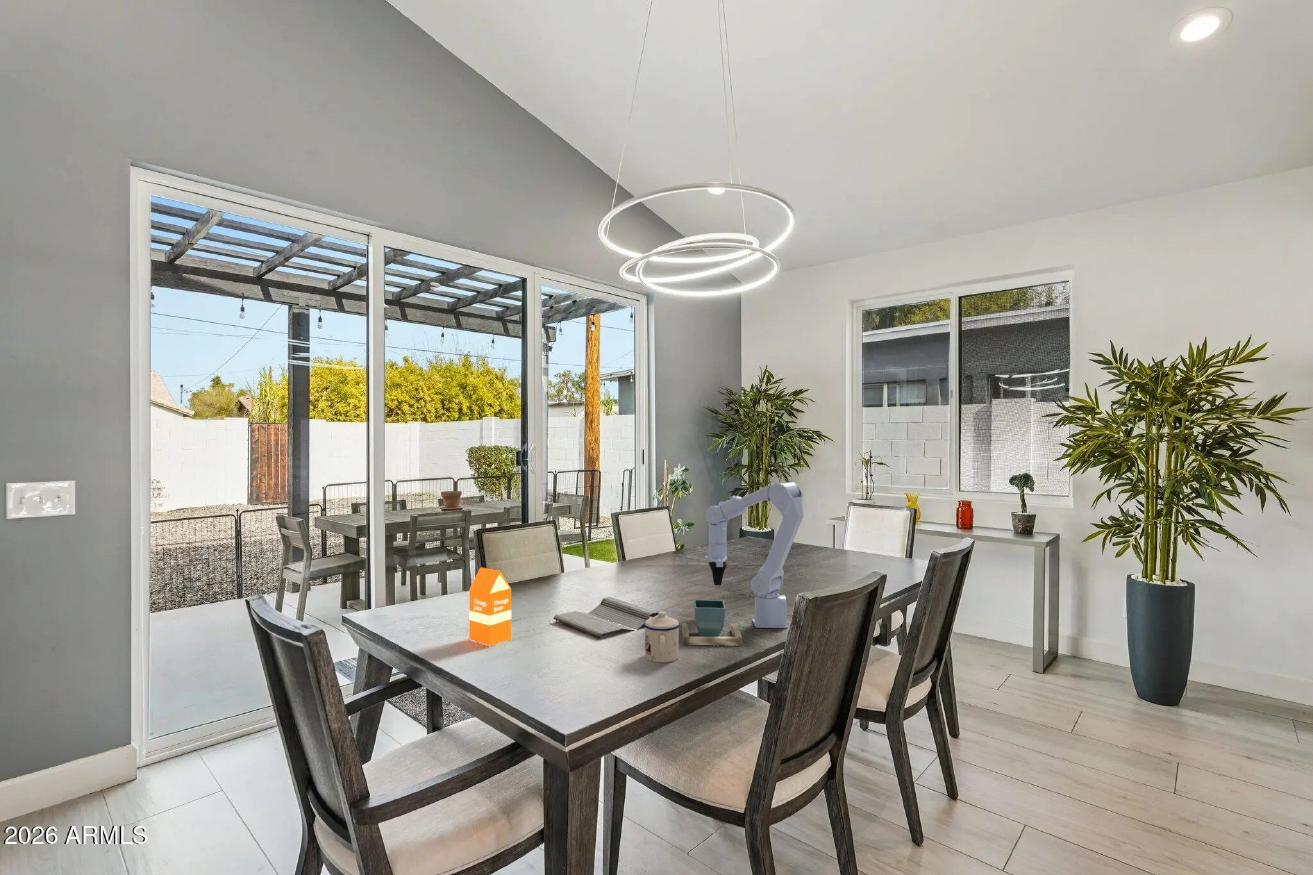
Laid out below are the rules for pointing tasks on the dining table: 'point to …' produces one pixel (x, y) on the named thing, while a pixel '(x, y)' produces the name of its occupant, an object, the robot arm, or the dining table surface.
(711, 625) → the flower pot
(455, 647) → the dining table surface
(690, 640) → the cream wooden frame
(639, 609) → the mat
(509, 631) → the orange juice
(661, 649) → the teacup with lid
